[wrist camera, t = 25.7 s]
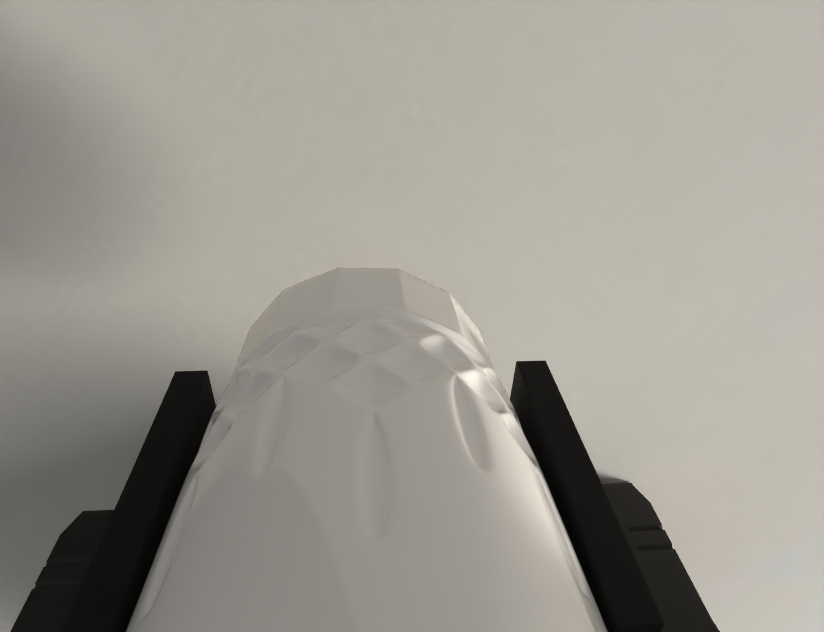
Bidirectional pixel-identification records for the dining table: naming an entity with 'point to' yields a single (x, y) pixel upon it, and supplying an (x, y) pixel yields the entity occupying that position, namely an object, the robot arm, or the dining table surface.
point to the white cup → (365, 482)
